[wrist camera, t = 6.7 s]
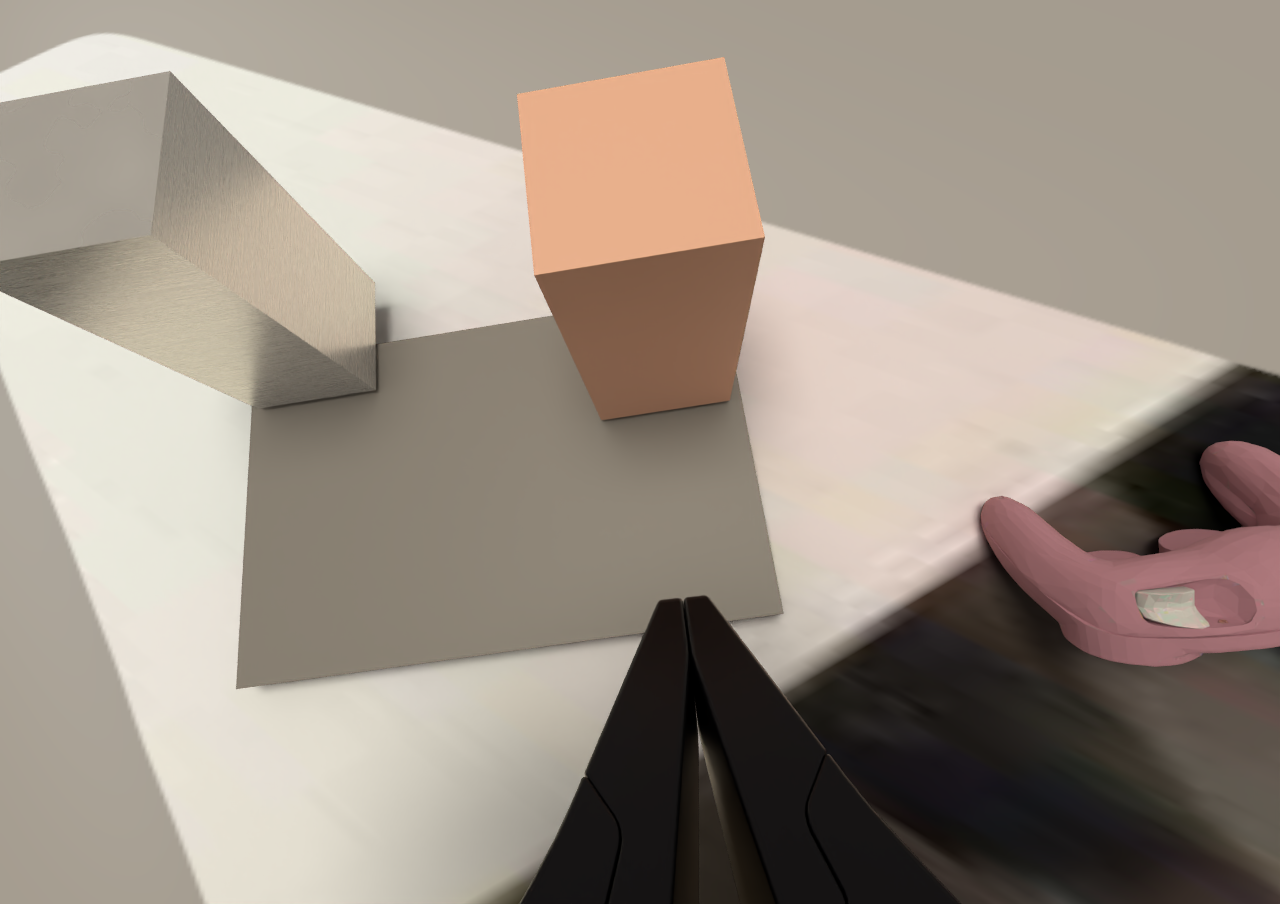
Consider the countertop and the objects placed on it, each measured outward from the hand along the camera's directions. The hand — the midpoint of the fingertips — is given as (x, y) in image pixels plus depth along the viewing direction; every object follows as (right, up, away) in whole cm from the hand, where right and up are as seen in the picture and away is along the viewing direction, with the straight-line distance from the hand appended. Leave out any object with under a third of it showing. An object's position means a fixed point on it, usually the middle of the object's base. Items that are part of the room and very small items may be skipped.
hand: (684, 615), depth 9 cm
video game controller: (+17, -1, +11) cm, 20 cm away
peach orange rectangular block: (0, +7, +13) cm, 15 cm away
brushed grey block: (-14, +7, +14) cm, 21 cm away
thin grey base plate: (-6, +2, +14) cm, 15 cm away
